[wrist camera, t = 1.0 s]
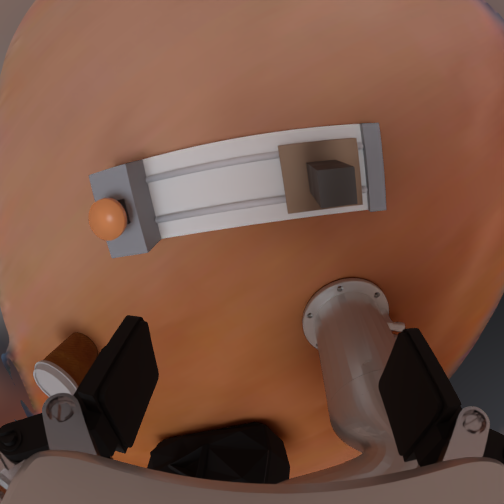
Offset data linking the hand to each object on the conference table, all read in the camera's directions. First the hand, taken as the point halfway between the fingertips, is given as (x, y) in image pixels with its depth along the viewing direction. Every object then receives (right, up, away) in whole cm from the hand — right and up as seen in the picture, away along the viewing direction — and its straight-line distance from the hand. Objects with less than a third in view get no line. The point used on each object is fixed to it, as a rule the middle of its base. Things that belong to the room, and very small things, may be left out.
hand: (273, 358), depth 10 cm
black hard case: (-9, -36, +44) cm, 57 cm away
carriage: (+6, +12, +20) cm, 24 cm away
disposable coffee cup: (-32, -14, +36) cm, 50 cm away
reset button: (-15, +8, +19) cm, 26 cm away
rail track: (-2, +12, +23) cm, 26 cm away
